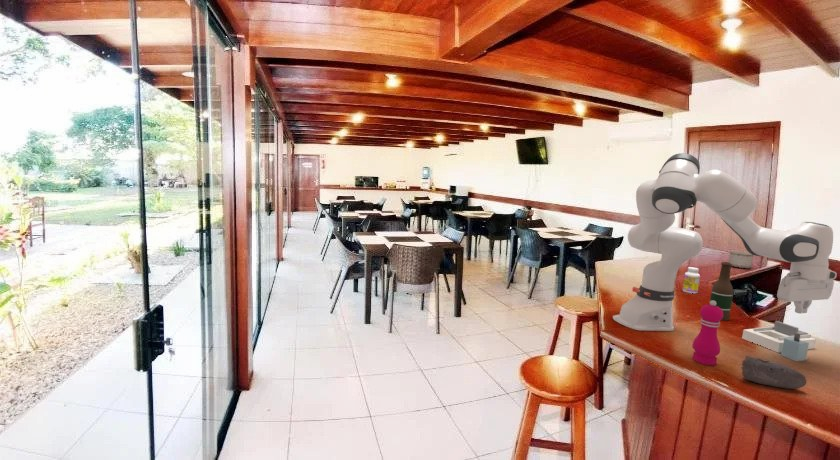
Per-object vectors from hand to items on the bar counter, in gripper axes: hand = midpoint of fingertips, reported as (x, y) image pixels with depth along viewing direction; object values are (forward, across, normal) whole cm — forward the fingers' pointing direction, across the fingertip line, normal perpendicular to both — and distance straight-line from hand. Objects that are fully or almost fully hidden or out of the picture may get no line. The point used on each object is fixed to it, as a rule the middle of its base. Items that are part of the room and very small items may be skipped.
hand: (800, 312), depth 135 cm
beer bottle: (+15, +13, +35) cm, 41 cm away
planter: (+15, +135, +114) cm, 178 cm away
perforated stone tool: (+16, -30, -12) cm, 36 cm away
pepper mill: (+15, -35, +4) cm, 38 cm away
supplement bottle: (+15, +37, +69) cm, 80 cm away
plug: (+15, -1, -1) cm, 15 cm away
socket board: (+15, +8, +9) cm, 19 cm away
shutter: (+11, +13, +9) cm, 20 cm away
